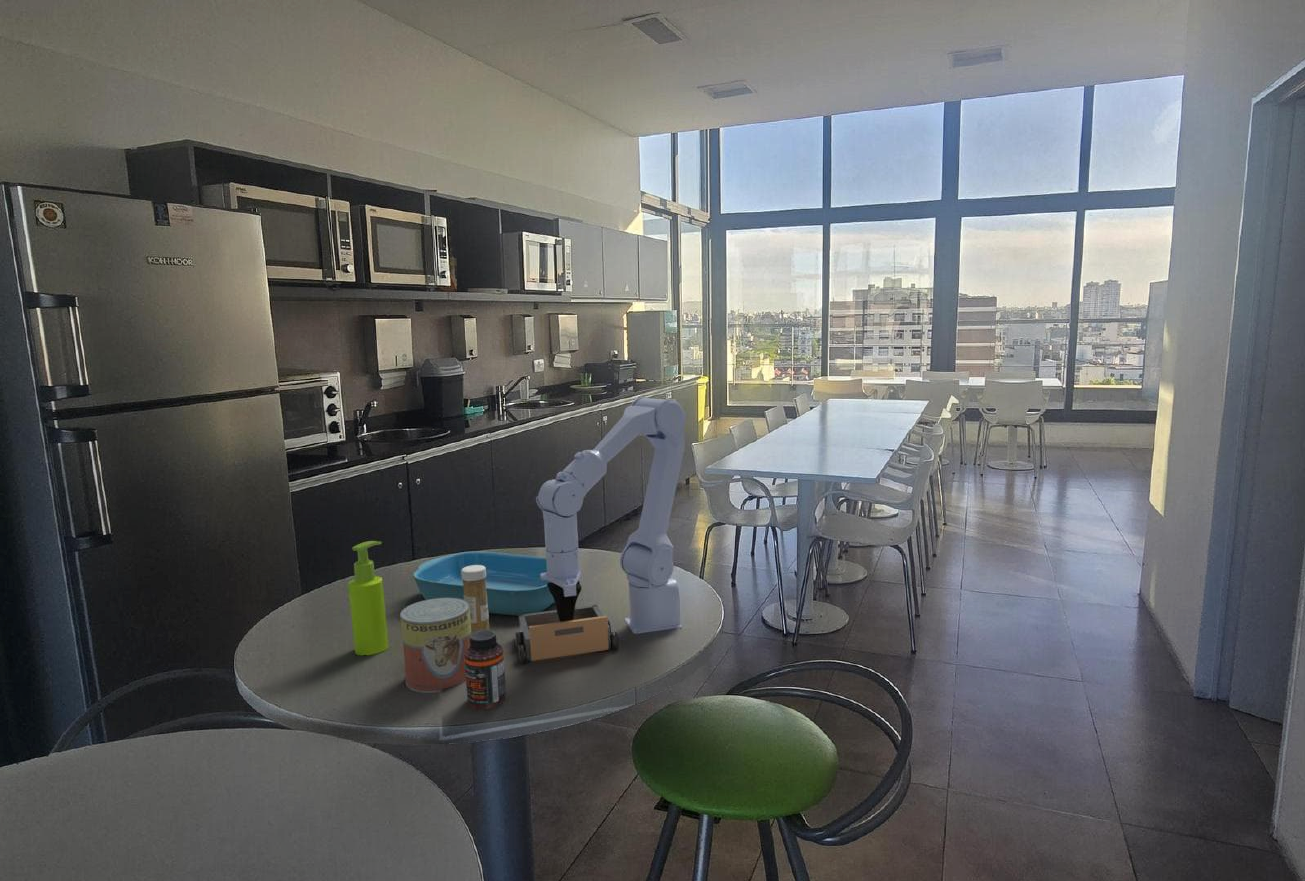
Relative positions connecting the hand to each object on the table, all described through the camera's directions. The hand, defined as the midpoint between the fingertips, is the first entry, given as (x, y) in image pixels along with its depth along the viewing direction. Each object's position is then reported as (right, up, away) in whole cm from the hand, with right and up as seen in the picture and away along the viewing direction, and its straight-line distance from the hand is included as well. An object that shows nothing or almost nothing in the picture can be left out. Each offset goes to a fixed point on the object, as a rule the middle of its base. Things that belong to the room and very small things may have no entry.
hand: (566, 622), depth 135 cm
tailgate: (+1, -6, -2) cm, 6 cm away
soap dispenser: (-37, -7, +6) cm, 38 cm away
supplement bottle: (-10, -9, -16) cm, 21 cm away
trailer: (-1, -5, +5) cm, 7 cm away
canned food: (-20, -8, -7) cm, 23 cm away
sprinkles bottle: (-18, -5, +10) cm, 21 cm away
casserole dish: (-19, -3, +31) cm, 36 cm away
